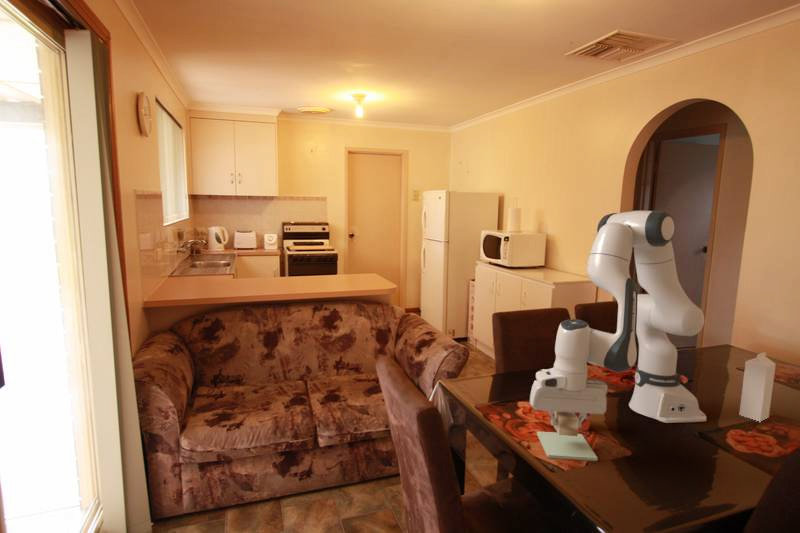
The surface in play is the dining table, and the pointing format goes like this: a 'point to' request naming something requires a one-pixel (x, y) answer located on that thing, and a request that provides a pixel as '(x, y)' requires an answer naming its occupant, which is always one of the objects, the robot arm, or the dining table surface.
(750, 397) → the milk
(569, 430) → the cube
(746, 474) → the dining table surface
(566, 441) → the board
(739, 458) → the dining table surface
